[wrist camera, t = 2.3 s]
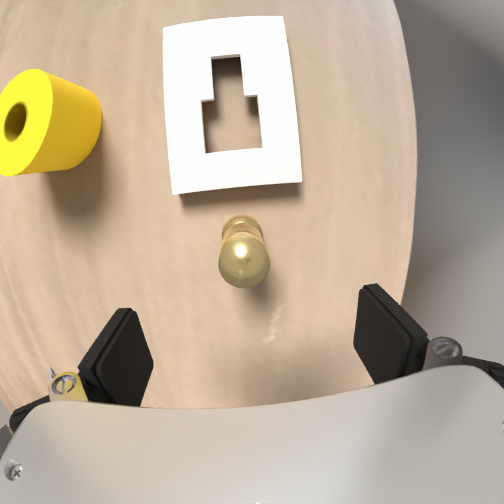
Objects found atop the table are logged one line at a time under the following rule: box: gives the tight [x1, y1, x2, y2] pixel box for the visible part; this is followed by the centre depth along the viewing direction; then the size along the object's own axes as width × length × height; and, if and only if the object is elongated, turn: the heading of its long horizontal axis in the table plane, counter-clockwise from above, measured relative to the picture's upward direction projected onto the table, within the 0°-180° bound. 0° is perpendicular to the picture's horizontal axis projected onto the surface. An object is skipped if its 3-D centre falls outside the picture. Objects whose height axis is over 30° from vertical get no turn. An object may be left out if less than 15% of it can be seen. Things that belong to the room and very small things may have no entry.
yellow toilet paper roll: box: [0, 69, 102, 176], centre depth 19 cm, size 10×10×9 cm
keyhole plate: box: [163, 16, 302, 195], centre depth 23 cm, size 18×12×2 cm, turn 5°
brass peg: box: [218, 215, 270, 288], centre depth 24 cm, size 4×4×9 cm
